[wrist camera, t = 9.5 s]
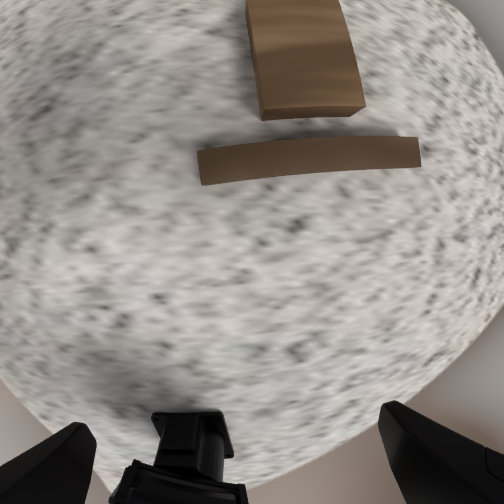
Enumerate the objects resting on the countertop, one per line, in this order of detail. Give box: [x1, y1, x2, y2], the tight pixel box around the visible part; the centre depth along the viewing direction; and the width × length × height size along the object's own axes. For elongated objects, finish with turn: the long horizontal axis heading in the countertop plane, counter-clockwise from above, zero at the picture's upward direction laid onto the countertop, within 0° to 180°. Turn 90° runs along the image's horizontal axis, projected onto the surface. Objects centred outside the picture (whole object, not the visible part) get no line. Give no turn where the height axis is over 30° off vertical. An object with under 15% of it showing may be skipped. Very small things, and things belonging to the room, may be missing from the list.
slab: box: [245, 0, 366, 121], centre depth 15 cm, size 3×6×9 cm
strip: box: [197, 136, 421, 185], centre depth 17 cm, size 2×14×2 cm, turn 97°
